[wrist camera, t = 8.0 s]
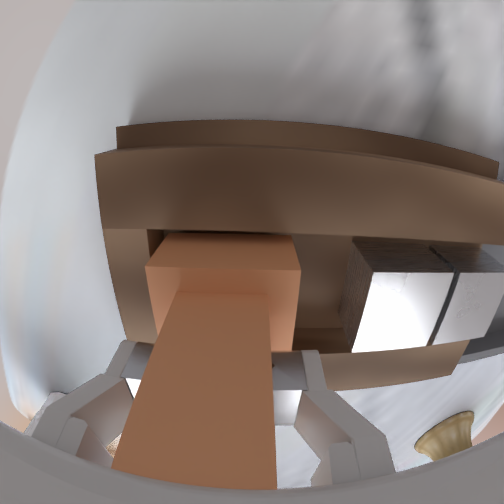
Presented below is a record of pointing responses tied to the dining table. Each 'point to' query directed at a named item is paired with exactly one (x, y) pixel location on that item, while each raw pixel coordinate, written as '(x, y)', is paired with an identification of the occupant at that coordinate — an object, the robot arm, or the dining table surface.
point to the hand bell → (447, 437)
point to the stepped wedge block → (213, 361)
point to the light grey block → (392, 295)
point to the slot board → (295, 217)
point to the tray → (500, 330)
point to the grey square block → (468, 294)
